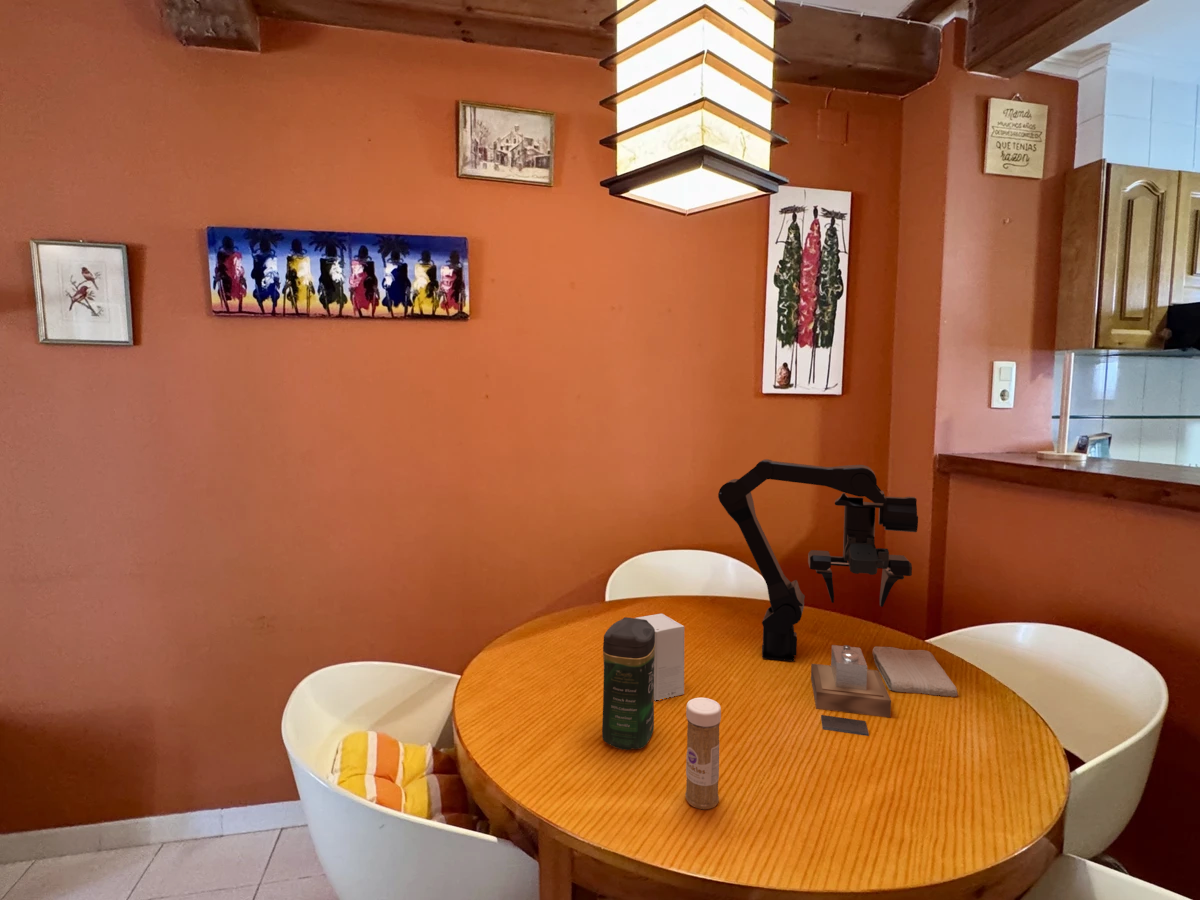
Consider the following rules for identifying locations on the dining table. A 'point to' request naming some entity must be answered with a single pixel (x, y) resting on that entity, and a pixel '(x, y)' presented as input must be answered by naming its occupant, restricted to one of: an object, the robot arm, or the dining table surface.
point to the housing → (848, 667)
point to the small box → (667, 656)
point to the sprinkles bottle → (702, 752)
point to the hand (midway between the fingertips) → (856, 604)
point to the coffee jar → (628, 683)
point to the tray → (850, 693)
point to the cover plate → (844, 725)
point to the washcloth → (912, 672)
